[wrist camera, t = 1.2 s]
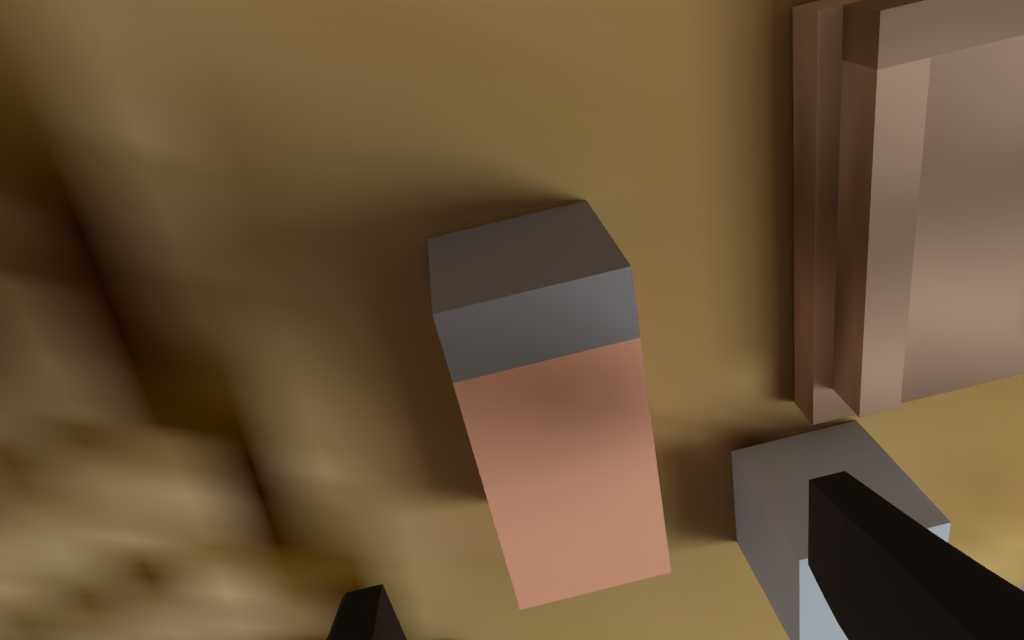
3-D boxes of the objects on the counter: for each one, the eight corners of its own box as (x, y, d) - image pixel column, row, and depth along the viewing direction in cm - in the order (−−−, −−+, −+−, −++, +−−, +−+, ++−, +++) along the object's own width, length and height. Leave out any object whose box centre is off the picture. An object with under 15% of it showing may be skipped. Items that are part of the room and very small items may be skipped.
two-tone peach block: (629, 470, 20) (671, 572, 16) (502, 501, 20) (520, 610, 16) (585, 199, 16) (631, 266, 12) (426, 238, 16) (432, 314, 12)
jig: (1080, 332, 19) (1154, 376, 17) (794, 402, 19) (837, 454, 17) (1175, -85, 14) (1294, -88, 12) (792, 6, 14) (853, 17, 12)
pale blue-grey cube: (850, 511, 22) (936, 622, 18) (736, 540, 21) (799, 657, 18) (854, 418, 20) (950, 522, 16) (730, 449, 20) (799, 560, 16)
